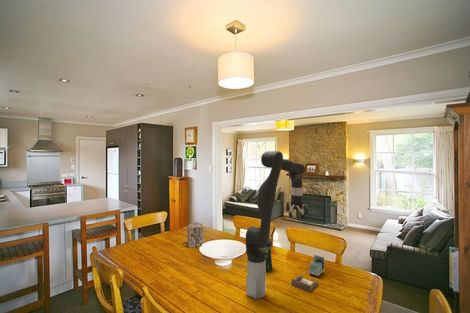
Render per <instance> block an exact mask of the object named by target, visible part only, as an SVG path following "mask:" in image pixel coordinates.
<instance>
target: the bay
mask: <svg viewBox="0 0 470 313" xmlns="http://www.w3.org/2000/svg"><path fill="white" fill-rule="evenodd" d="M318 285H319V280H318V279H315V280H314V281H311V280H308V279H306V278H303V274H299V275H297V276H296V277H295V278H292V279H291V286H293V287H295V288H298V289H300V290H302V291H305V292H309V293H312V291H314V289H315V288H316V287H317V286H318Z"/></svg>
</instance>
